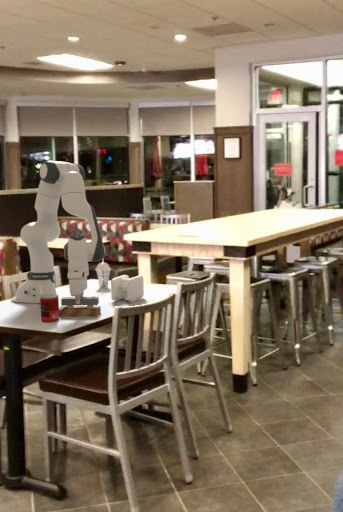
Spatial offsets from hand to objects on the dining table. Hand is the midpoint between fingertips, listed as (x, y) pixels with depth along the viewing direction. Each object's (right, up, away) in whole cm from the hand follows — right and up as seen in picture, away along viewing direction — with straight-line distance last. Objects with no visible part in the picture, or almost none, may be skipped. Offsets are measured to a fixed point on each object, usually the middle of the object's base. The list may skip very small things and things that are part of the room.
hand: (79, 302), depth 305 cm
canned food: (-11, -7, -10) cm, 17 cm away
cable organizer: (+19, -1, +32) cm, 37 cm away
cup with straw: (+4, +3, +66) cm, 66 cm away
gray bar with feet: (0, -3, 0) cm, 4 cm away
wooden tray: (0, -5, +1) cm, 5 cm away
